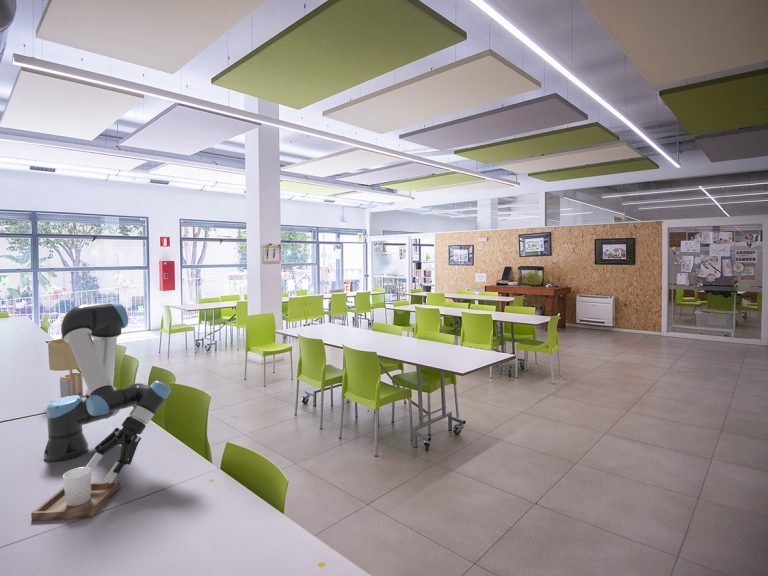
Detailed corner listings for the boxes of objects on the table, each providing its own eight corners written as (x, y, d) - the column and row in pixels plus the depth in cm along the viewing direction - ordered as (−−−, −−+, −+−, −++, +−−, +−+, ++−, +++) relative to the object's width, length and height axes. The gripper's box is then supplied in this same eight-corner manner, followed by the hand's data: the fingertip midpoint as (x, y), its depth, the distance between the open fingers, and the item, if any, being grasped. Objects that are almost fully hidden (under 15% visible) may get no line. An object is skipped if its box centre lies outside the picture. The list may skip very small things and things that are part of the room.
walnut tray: (31, 520, 138) (31, 513, 137) (67, 490, 155) (67, 483, 155) (91, 517, 139) (91, 510, 139) (120, 488, 157) (120, 481, 157)
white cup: (62, 510, 142) (60, 480, 141) (66, 498, 149) (65, 469, 148) (90, 503, 146) (89, 475, 145) (94, 492, 153) (92, 464, 152)
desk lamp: (77, 406, 242) (73, 344, 240) (42, 406, 243) (38, 343, 240) (100, 395, 262) (97, 337, 259) (68, 395, 262) (65, 337, 259)
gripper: (164, 431, 159) (124, 490, 148) (126, 418, 172) (87, 471, 161) (149, 422, 154) (107, 482, 143) (112, 409, 167) (70, 463, 156)
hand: (96, 476), depth 152 cm, fingers open, 13 cm apart
